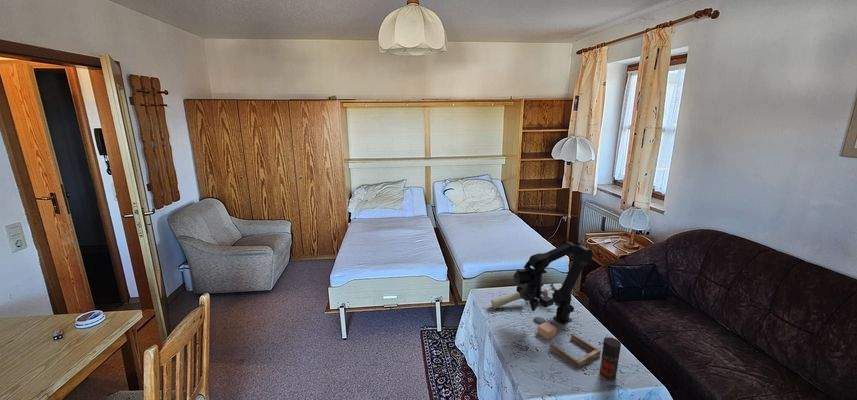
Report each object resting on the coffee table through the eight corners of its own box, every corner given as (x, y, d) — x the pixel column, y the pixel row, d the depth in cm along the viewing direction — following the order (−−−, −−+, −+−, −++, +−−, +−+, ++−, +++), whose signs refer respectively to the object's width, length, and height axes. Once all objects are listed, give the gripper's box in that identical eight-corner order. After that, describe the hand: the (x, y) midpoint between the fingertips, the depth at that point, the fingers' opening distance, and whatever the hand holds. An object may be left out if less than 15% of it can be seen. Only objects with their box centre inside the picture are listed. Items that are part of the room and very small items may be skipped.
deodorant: (596, 369, 145) (600, 337, 141) (610, 369, 145) (615, 336, 142) (604, 380, 139) (609, 347, 136) (619, 379, 140) (624, 346, 136)
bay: (572, 338, 165) (572, 333, 164) (600, 355, 153) (600, 350, 153) (550, 349, 157) (550, 344, 157) (577, 368, 146) (578, 363, 145)
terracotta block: (545, 329, 172) (546, 321, 171) (555, 335, 167) (556, 327, 166) (537, 333, 169) (537, 325, 168) (547, 339, 164) (548, 332, 163)
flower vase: (493, 316, 195) (550, 296, 201) (501, 323, 183) (562, 301, 189) (487, 296, 195) (544, 276, 201) (495, 301, 183) (555, 280, 189)
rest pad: (539, 316, 182) (539, 315, 182) (548, 322, 177) (548, 321, 177) (530, 319, 179) (530, 319, 179) (540, 325, 174) (540, 325, 174)
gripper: (509, 278, 174) (507, 306, 177) (539, 294, 158) (536, 325, 162) (525, 272, 179) (523, 300, 183) (555, 287, 164) (553, 318, 168)
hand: (533, 310), depth 174 cm, fingers closed
